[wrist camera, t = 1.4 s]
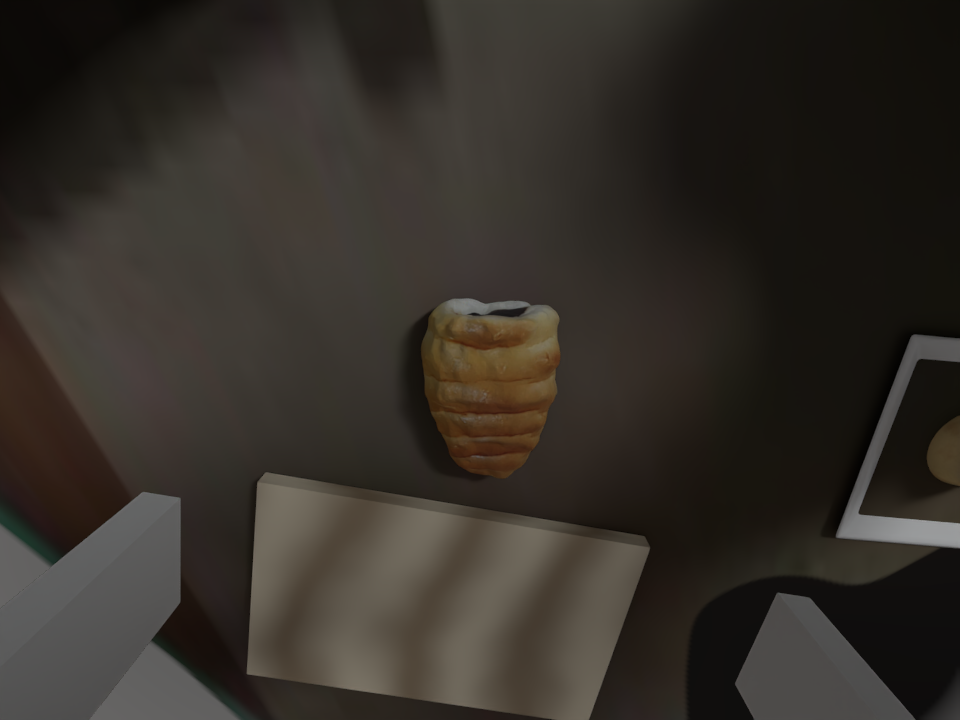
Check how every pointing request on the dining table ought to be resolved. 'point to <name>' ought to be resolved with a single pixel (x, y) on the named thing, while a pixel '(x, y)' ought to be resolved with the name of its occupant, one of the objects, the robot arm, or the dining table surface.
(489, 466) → the pastry
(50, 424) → the dining table surface
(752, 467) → the dining table surface
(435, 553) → the serving board
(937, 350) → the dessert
